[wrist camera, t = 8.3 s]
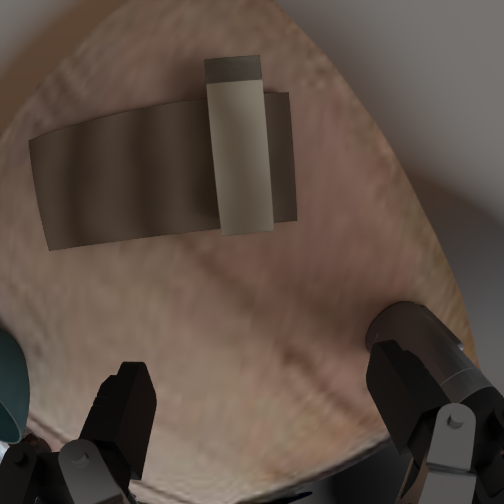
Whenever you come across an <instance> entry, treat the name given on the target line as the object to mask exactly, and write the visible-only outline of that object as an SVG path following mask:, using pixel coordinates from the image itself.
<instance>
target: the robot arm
mask: <svg viewBox="0 0 504 504" xmlns="http://www.w3.org/2000/svg"><path fill="white" fill-rule="evenodd" d="M366 346H367V349H368V351H369V353H370V359H369V364H368V369H367V373H366V383H367V387H368V390H369V392H370V394H371V396H372V398H373V400H374V402H375V404H376V406H377V408H378V411H379V413H380V415H381V417H382V419H383V421H384V423H385V425H386V427H387V429H388V431H389V433H390V436H391V438H392V440H393V442H394V444H395V446H396V448H397V450H398V453H399V455H402V454H405V453H408V452H411V453H412V455H413V458H412V460H411V462H410V465H409V468H408V471H407V474H406V477H405V480H404V482H403V485H402V488H401V490H400V493H399V496H398V498H397V501H396V503H395V504H504V454H503V455H501V454H500V453H501V452H502V451H504V398H503V396H502V395H501V394H500V393H499V392H498V390H497V389H496V388H495V387H494V386H493V385H492V384H491V382H490V381H489V380H488V379H487V378H486V377H485V376H484V375H483V373H482V372H481V371H480V370H479V369H478V368H477V367H476V366H475V365H474V364H473V362H472V361H471V360H470V359H469V358H468V357H467V356H466V355H465V354H464V353H463V349H464V344H463V343H462V342H461V341H460V340H459V339H458V338H457V337H456V336H455V335H454V334H453V333H452V332H451V331H450V330H449V329H448V328H447V327H446V326H445V325H444V324H443V323H442V322H441V321H440V320H439V319H438V318H437V317H436V316H435V315H434V314H433V313H432V312H431V311H430V310H429V309H428V308H427V307H426V306H424V307H419V306H418V305H416V304H415V303H412V302H401V303H397V304H395V305H392V306H391V307H389V308H387V309H386V310H384V311H383V312H382V313H381V314H380V315H379V316H378V317H377V318H376V319H375V320H374V322H373V323H372V325H371V326H370V328H369V330H368V333H367V337H366ZM156 406H157V399H156V393H155V390H154V387H153V384H152V381H151V378H150V375H149V373H148V370H147V367H146V364H145V363H144V362H123V363H122V364H121V366H120V369H119V371H118V373H117V375H110V376H109V377H108V378H107V379H106V380H105V381H104V382H103V383H102V384H101V386H100V389H99V391H98V393H97V397H96V398H95V400H94V402H93V406H92V407H91V409H90V412H89V414H88V417H87V419H86V421H85V424H84V426H83V429H82V431H81V434H80V436H79V438H78V439H76V440H72V441H70V442H68V443H66V444H65V445H64V446H63V447H62V448H61V450H60V452H49V453H37V451H36V450H35V449H34V448H33V447H32V446H31V445H29V444H27V443H16V444H14V445H12V446H11V447H9V448H8V449H7V451H6V452H5V454H4V457H3V459H2V462H1V464H0V504H138V502H137V501H136V499H135V497H134V496H133V494H132V493H131V491H130V490H129V488H128V487H129V482H130V479H133V480H141V479H142V473H143V468H144V463H145V458H146V453H147V448H148V443H149V439H150V434H151V429H152V425H153V420H154V416H155V411H156ZM36 497H37V499H36ZM35 501H36V502H35Z"/></svg>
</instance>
